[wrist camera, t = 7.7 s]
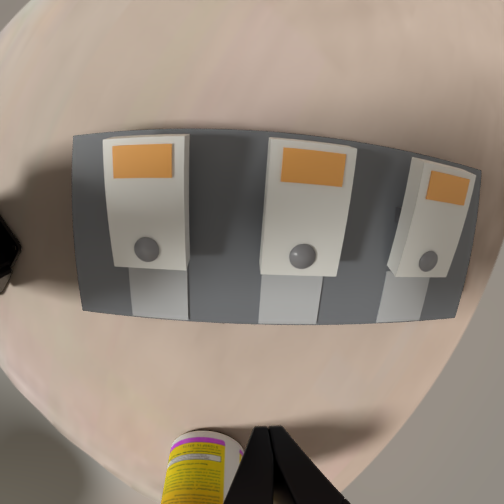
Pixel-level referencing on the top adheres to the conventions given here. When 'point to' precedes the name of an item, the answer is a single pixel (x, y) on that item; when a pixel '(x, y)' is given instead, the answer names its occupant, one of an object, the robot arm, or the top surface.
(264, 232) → the rocker middle
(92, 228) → the rocker switch panel
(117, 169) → the block
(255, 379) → the top surface
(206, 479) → the supplement bottle
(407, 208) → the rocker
